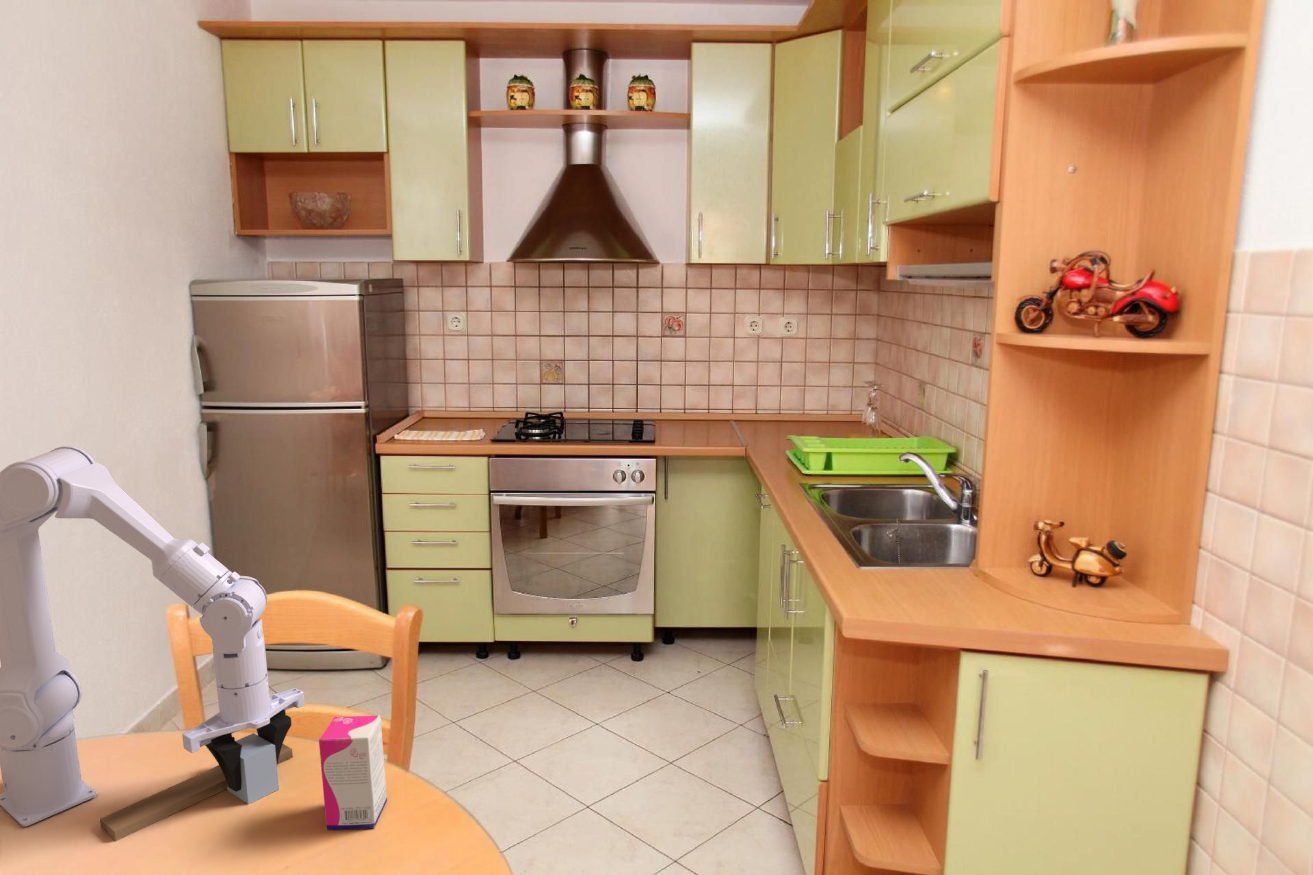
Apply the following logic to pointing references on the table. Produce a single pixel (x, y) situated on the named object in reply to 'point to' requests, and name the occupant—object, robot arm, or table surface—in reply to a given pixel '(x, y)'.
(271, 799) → the table surface
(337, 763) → the supplement box
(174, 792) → the board
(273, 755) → the grey tall block
